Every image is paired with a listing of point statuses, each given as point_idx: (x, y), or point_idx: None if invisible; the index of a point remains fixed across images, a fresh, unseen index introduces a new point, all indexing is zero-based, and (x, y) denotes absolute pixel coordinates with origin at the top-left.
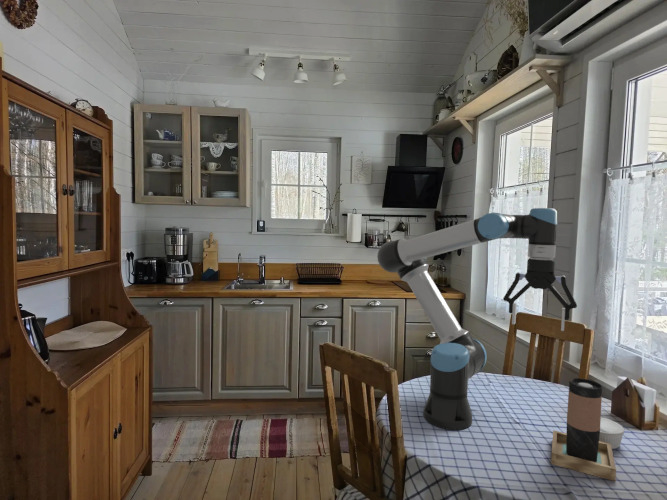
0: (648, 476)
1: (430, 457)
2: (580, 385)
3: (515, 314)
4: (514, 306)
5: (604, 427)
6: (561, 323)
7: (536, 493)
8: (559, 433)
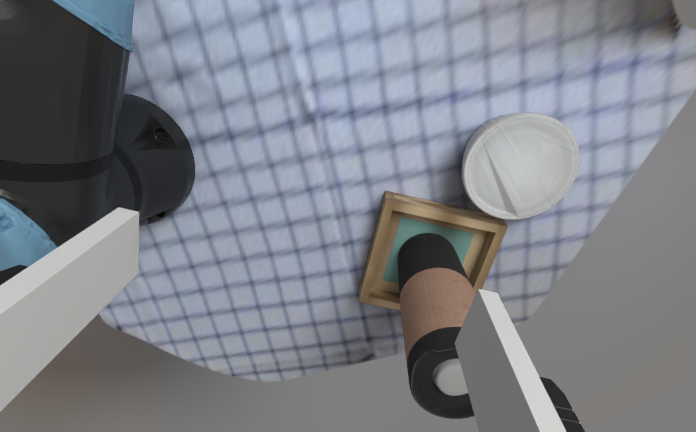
0: (537, 277)
1: (146, 326)
2: (438, 387)
3: (87, 283)
4: (11, 390)
5: (521, 188)
6: (467, 385)
7: (319, 370)
8: (398, 210)
